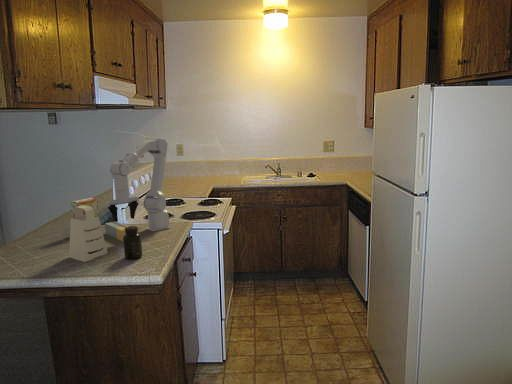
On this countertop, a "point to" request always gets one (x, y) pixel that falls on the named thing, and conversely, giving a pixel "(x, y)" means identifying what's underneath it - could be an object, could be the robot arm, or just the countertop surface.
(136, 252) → the supplement bottle
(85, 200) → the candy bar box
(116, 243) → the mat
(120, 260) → the countertop surface
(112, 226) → the block
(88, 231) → the grater
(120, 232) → the stub
